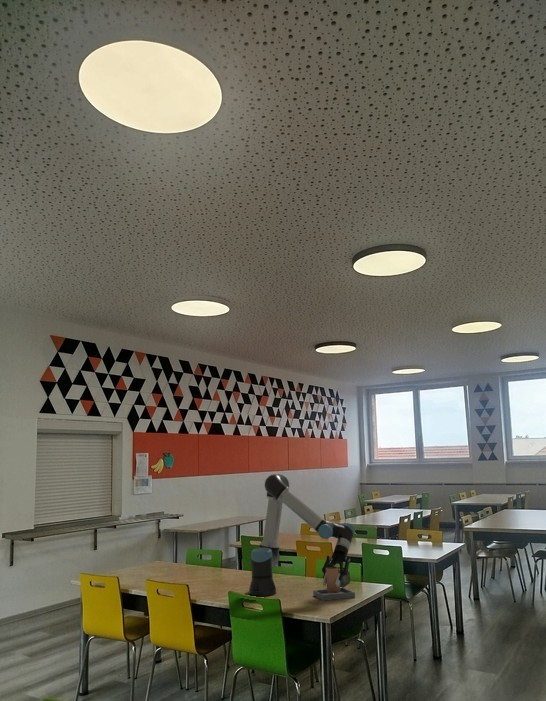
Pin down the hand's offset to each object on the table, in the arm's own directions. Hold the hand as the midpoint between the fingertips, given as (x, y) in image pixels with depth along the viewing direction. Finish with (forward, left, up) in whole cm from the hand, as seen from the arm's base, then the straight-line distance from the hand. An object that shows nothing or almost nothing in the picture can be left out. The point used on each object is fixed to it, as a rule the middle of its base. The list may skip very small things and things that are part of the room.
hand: (330, 584), depth 293 cm
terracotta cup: (-2, +3, -4) cm, 5 cm away
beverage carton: (-31, +18, -7) cm, 36 cm away
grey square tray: (-2, +3, -6) cm, 7 cm away
